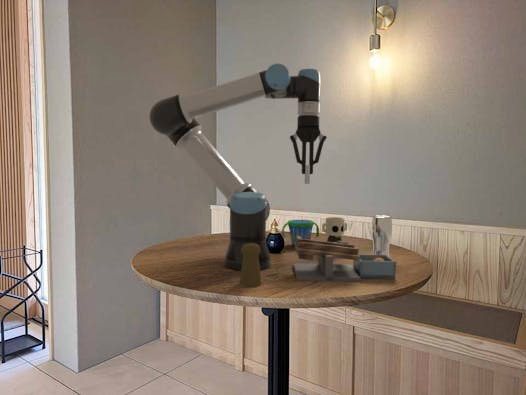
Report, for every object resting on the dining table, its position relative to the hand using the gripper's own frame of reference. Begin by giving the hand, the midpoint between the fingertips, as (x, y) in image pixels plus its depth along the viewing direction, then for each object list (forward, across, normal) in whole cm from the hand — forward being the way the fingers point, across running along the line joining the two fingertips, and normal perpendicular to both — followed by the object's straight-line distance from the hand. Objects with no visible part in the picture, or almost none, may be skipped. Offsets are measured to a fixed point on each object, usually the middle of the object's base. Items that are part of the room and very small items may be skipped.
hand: (307, 183), depth 139 cm
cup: (+26, +19, -21) cm, 39 cm away
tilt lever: (+22, +4, -17) cm, 28 cm away
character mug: (+27, +12, +11) cm, 31 cm away
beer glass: (+27, +27, +1) cm, 38 cm away
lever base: (+26, +4, -21) cm, 34 cm away
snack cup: (+27, 0, +23) cm, 35 cm away
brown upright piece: (+27, -18, -33) cm, 46 cm away
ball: (+23, +20, -21) cm, 37 cm away
